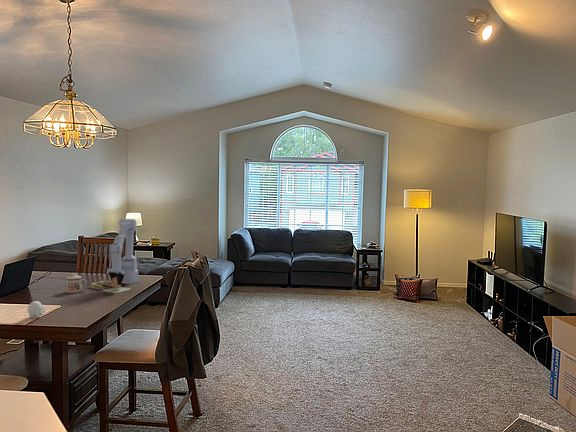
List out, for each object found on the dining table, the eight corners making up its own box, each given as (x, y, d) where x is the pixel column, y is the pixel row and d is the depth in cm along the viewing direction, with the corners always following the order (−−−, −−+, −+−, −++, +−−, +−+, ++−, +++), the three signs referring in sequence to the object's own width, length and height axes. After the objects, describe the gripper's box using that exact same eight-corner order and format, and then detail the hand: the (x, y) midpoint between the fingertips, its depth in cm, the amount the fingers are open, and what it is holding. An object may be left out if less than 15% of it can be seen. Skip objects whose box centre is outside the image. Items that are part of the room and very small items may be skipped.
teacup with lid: (65, 293, 285) (64, 275, 284) (67, 290, 293) (66, 272, 292) (86, 292, 288) (85, 274, 287) (87, 289, 297) (87, 271, 296)
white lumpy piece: (26, 302, 232) (36, 298, 244) (26, 319, 232) (36, 314, 244) (39, 302, 233) (48, 298, 245) (39, 318, 233) (48, 314, 245)
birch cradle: (105, 284, 311) (105, 280, 310) (116, 286, 304) (116, 282, 304) (89, 287, 301) (89, 283, 300) (100, 290, 294) (100, 286, 294)
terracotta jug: (117, 285, 298) (117, 276, 297) (122, 286, 295) (122, 277, 294) (108, 287, 292) (108, 278, 292) (113, 289, 289) (113, 279, 289)
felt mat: (119, 286, 303) (119, 286, 303) (132, 289, 296) (132, 288, 296) (101, 290, 292) (101, 290, 292) (114, 293, 286) (114, 293, 286)
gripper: (103, 263, 294) (104, 283, 295) (118, 265, 286) (118, 286, 287) (113, 261, 299) (113, 281, 301) (127, 263, 292) (128, 284, 293)
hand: (116, 284), depth 294 cm, fingers closed on terracotta jug, 5 cm apart
